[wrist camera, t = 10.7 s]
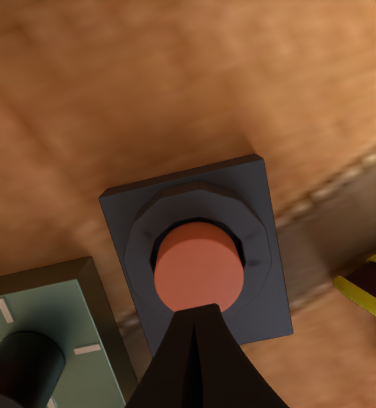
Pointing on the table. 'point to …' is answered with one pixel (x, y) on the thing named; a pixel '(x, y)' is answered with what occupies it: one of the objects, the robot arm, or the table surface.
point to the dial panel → (71, 331)
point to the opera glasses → (360, 286)
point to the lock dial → (28, 370)
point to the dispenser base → (210, 213)
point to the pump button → (198, 268)
